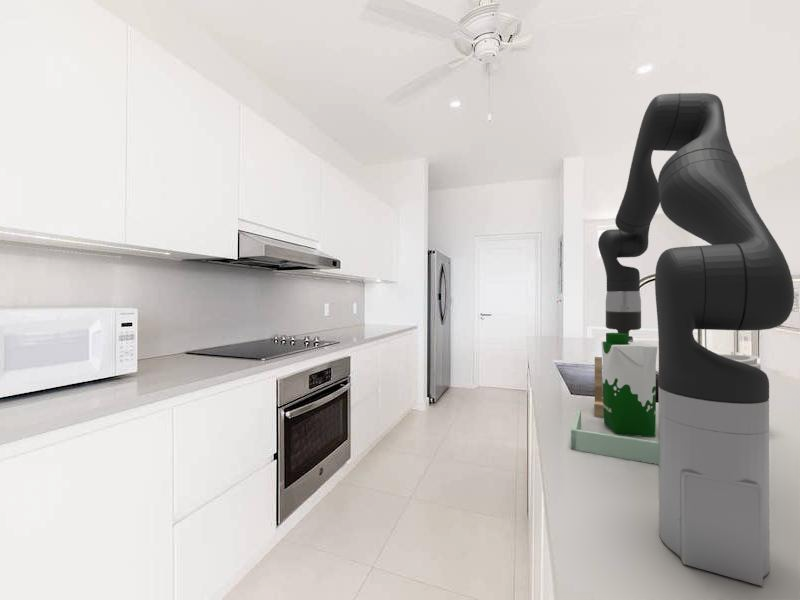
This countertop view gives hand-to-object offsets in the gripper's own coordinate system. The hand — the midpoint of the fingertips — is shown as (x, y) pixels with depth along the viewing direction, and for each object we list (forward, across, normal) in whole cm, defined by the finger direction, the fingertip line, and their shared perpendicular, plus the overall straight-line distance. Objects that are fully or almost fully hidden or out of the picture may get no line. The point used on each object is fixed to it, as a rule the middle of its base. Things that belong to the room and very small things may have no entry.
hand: (623, 379), depth 91 cm
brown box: (+7, -8, +1) cm, 10 cm away
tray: (+7, -26, 0) cm, 27 cm away
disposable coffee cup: (+7, -5, -18) cm, 20 cm away
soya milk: (+7, -17, 0) cm, 18 cm away
